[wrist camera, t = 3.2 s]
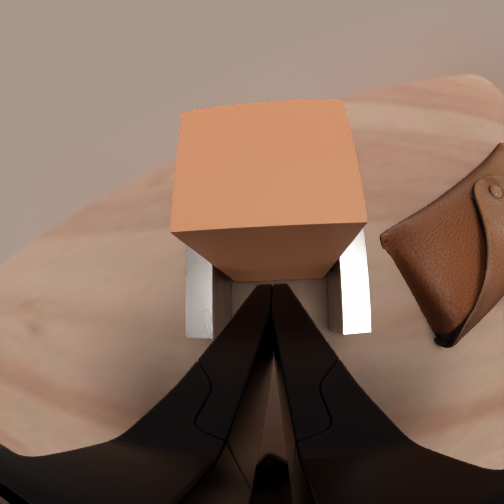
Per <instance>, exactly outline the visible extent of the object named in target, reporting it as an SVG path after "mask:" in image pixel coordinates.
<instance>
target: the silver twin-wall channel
mask: <svg viewBox="0 0 504 504" xmlns="http://www.w3.org/2000/svg"><path fill="white" fill-rule="evenodd" d="M327 285H328V306H329V330H330V331H334V332H338V333H342V334H343V335H344V334H356V333H367V332H371V314H370V295H369V280H368V268H367V257H366V247H365V238H364V229H362V230H361V231H360V233H359V234H358V235H357V236H356V238H355V239H354V240H353V241H352V243H351V244H350V245H349V246H348V248H347V249H346V250H345V251H344V253H343V254H342V255H341V256H340V258H339V259H338V260H337V261H336V263H335V264H334V265H333V266H332V267H331V269H330V270H329V271H328V272H327ZM231 318H232V313H231V278H230V277H229V276H227V275H226V274H224V273H223V272H222V271H220V270H219V269H218V268H216V267H215V266H214V265H212V264H211V263H210V262H208V261H207V260H206V259H205V258H203V257H202V256H201V255H199V254H198V253H197V252H195V251H194V250H193V249H191V248H190V247H189V246H186V289H185V329H186V338H212V339H213V338H215V337H217V336H218V334H219V333H220V332H221V331H222V329H223V328H224V327H225V326H226V324H227V323H228V322H229V321H230V319H231Z"/></svg>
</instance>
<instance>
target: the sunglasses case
mask: <svg viewBox="0 0 504 504" xmlns="http://www.w3.org/2000/svg"><path fill="white" fill-rule="evenodd" d="M380 242H381V245H382V247H383V249H385V250H386V251H387V253H388V254H389V255H390V256H391V257H392V259H393V260H394V262H395V264H396V266H397V267H398V269H399V270H400V273H401V274H402V276H403V278H404V279H405V281H406V283H407V285H408V286H409V288H410V290H411V292H412V294H413V296H414V297H415V299H416V301H417V302H418V305H419V306H420V308H421V311H422V312H423V314H424V316H425V318H426V319H427V321H428V324H429V326H430V327H431V329H432V331H433V332H434V333H435V334H436V336H437V337H436V338H435V339H434V341H435V342H436V343H437V344H438V345H440V346H441V347H445V348H451V347H453V346H454V345H456V344H457V343H458V342H459V341H460V339H461V338H462V337H464V336H465V335H466V334H467V333H468V332H469V331H470V330H471V329H472V328H473V327H474V326H475V325H476V324H477V323H478V322H480V320H481V319H482V318H483V317H484V316H485V315H486V314H487V313H488V312H489V311H490V310H491V309H492V308H493V307H494V306H495V305H496V304H497V302H498V301H499V300H500V299H501V298H502V297H503V296H504V143H499V144H498V145H497V147H496V148H495V149H494V150H493V152H492V153H491V154H490V155H489V156H488V157H487V159H485V160H484V162H482V163H481V164H480V165H479V166H478V167H477V168H476V169H475V170H473V171H472V172H471V173H470V174H469V175H467V176H466V177H465V178H464V179H462V180H461V181H460V182H459V183H457V184H456V185H455V186H454V187H452V188H451V189H450V190H448V191H447V192H446V193H445V194H443V195H442V196H440V197H439V198H438V199H437V200H435V201H433V202H432V203H431V204H429V205H428V206H426V207H425V208H423V209H421V210H420V211H418V212H416V213H415V214H413V215H411V216H409V217H408V218H406V219H405V220H403V221H401V222H400V223H398V224H396V225H395V226H393V227H391V228H390V229H388V230H387V231H385V232H384V233H382V234H381V236H380Z"/></svg>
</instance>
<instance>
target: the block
mask: <svg viewBox="0 0 504 504" xmlns="http://www.w3.org/2000/svg"><path fill="white" fill-rule="evenodd" d="M366 224H367V215H366V208H365V201H364V195H363V189H362V183H361V178H360V172H359V167H358V162H357V157H356V152H355V147H354V142H353V138H352V133H351V129H350V125H349V121H348V116H347V112H346V108H345V105H344V101H343V100H285V101H267V102H254V103H244V104H233V105H225V106H217V107H209V108H203V109H196V110H190V111H184V112H182V118H181V125H180V132H179V140H178V148H177V157H176V166H175V176H174V186H173V198H172V211H171V225H170V232H171V233H172V234H173V235H174V236H176V237H177V238H178V239H180V240H181V241H182V242H184V243H185V244H186V245H187V246H189V247H190V248H191V249H193V250H194V251H195V252H197V253H198V254H199V255H201V256H202V257H203V258H205V259H206V260H207V261H208V262H210V263H211V264H212V265H214V266H215V267H216V268H218V269H219V270H220V271H222V272H223V273H224V274H226V275H227V276H229V277H230V278H231V279H233V280H234V281H235V282H244V281H272V280H296V279H317V278H323V277H324V276H325V275H326V273H327V272H328V271H329V270H330V269H331V267H332V266H333V265H334V264H335V263H336V261H337V260H338V259H339V258H340V256H341V255H342V254H343V253H344V251H345V250H346V249H347V248H348V246H349V245H350V244H351V243H352V241H353V240H354V239H355V238H356V236H357V235H358V234H359V233H360V231H361V230H362V229H363V227H364V226H365V225H366Z"/></svg>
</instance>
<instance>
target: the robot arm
mask: <svg viewBox="0 0 504 504" xmlns="http://www.w3.org/2000/svg"><path fill="white" fill-rule="evenodd" d="M273 359H275V368H276V376H277V383H278V391H279V398H280V406H281V414H282V421H283V429H284V437H285V445H286V453H287V461H288V462H287V461H285V460H283V459H281V458H279V457H277V456H276V455H273V454H267V455H265V456H263V457H262V459H261V460H260V461H259V462H258V463H257V458H258V452H259V447H260V441H261V435H262V429H263V424H264V418H265V412H266V406H267V399H268V393H269V387H270V380H271V374H272V367H273ZM267 460H272V461H273V463H272V464H269V463H267V462H266V461H267ZM256 463H257V464H256ZM0 504H504V469H502V470H492V469H487V468H482V467H479V466H476V465H473V464H469V463H466V462H463V461H460V460H457V459H454V458H451V457H449V456H446V455H443V454H440V453H438V452H435V451H432V450H430V449H427V448H424V447H422V446H420V445H418V444H417V443H415V442H413V441H412V440H411V439H409V438H408V437H407V436H406V435H405V434H404V433H403V432H402V431H401V430H400V429H399V428H398V427H397V426H396V425H395V424H394V423H393V422H392V421H391V420H390V419H389V418H388V417H387V416H386V414H385V413H384V412H383V411H382V410H381V409H380V408H379V407H378V406H377V405H376V404H375V403H374V402H373V401H372V399H371V398H370V397H369V396H368V395H367V394H366V393H365V392H364V390H363V389H362V388H361V387H360V386H359V385H358V383H357V382H356V381H355V379H354V378H353V377H352V375H351V374H350V373H349V371H348V370H347V369H346V367H345V366H344V364H343V363H342V361H341V360H340V359H339V357H338V356H337V354H336V353H335V352H334V350H333V349H332V347H331V346H330V344H329V343H328V342H327V340H326V339H325V337H324V336H323V334H322V333H321V331H320V330H319V329H318V327H317V326H316V324H315V323H314V321H313V320H312V319H311V317H310V316H309V314H308V313H307V311H306V310H305V309H304V307H303V306H302V304H301V303H300V301H299V300H298V299H297V297H296V296H295V294H294V293H293V291H292V290H291V289H290V287H289V286H288V285H287V284H274V285H273V286H272V285H271V284H260V285H257V286H256V288H255V289H254V290H253V291H252V293H251V294H250V295H249V296H248V298H247V299H246V300H245V302H244V303H243V304H242V305H241V307H240V308H239V309H238V310H237V312H236V313H235V314H234V316H233V317H232V318H231V319H230V321H229V322H228V323H227V324H226V326H225V327H224V328H223V329H222V331H221V332H220V333H219V334H218V336H217V337H216V338H215V339H214V341H213V342H212V343H211V344H210V346H209V347H208V348H207V349H206V350H205V352H204V353H203V354H202V355H201V357H200V358H199V359H198V362H196V363H195V364H194V365H193V366H192V367H191V369H190V370H189V371H188V372H187V373H186V375H185V376H184V377H183V378H182V379H181V380H180V381H179V383H178V384H177V385H176V386H175V387H174V388H173V389H172V390H171V391H170V392H169V393H168V394H167V395H166V396H165V397H164V398H163V399H162V400H160V401H159V402H158V403H157V404H156V405H155V406H154V407H153V408H152V409H151V410H150V411H149V412H147V413H146V414H145V415H144V416H143V417H142V418H141V419H140V420H139V421H138V422H136V423H135V424H134V425H133V426H132V427H131V428H130V429H128V430H127V431H126V432H125V433H123V434H122V435H120V436H118V437H116V438H115V439H113V440H110V441H108V442H104V443H101V444H97V445H93V446H89V447H84V448H80V449H76V450H71V451H66V452H61V453H56V454H51V455H45V456H36V457H30V456H22V455H18V454H16V453H14V452H12V451H11V450H9V449H8V448H6V447H5V446H3V445H1V444H0Z"/></svg>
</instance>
